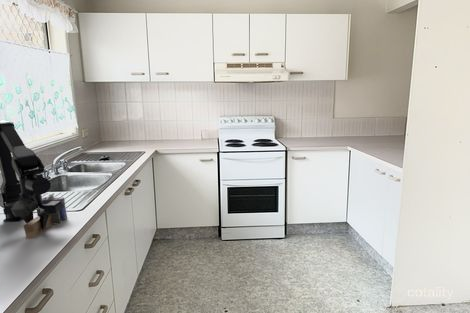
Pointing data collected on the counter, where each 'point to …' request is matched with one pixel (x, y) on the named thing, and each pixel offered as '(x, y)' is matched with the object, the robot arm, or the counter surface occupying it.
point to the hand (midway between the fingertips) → (38, 229)
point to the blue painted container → (49, 199)
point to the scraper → (35, 225)
